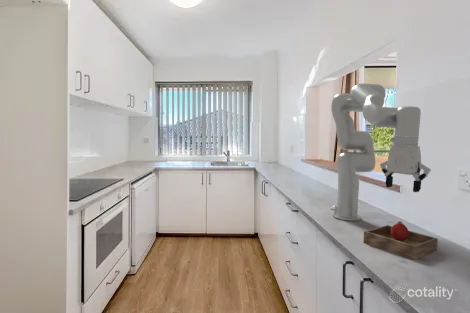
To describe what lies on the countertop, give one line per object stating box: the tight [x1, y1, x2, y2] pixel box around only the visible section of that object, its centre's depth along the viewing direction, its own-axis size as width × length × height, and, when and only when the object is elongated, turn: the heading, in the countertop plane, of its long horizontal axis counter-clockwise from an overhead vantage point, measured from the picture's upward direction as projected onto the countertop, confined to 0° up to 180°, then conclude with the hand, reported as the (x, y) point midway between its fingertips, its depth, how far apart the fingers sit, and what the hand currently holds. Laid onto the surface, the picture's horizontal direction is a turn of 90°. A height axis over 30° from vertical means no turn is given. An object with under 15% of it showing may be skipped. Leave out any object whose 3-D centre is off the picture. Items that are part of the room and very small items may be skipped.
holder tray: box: [362, 224, 439, 260], centre depth 111 cm, size 18×16×4 cm
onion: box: [391, 220, 409, 242], centre depth 111 cm, size 6×6×8 cm
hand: (402, 189), depth 111 cm, fingers open, 9 cm apart
